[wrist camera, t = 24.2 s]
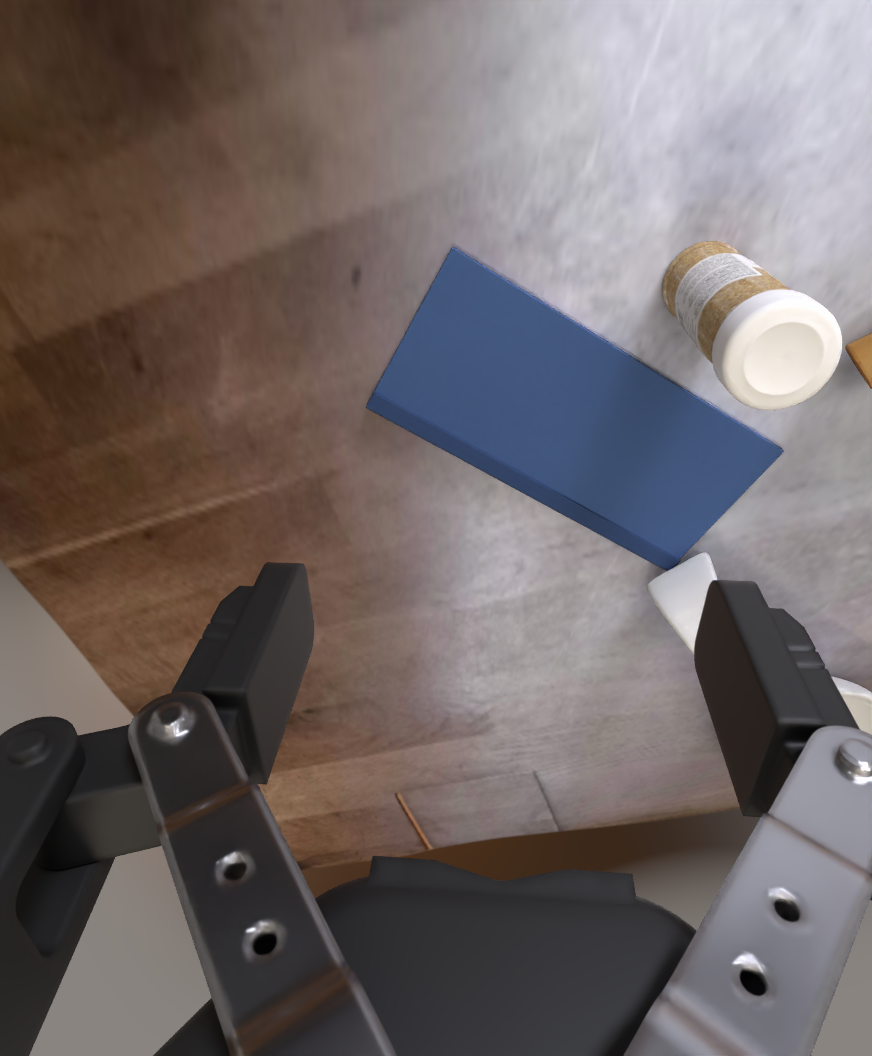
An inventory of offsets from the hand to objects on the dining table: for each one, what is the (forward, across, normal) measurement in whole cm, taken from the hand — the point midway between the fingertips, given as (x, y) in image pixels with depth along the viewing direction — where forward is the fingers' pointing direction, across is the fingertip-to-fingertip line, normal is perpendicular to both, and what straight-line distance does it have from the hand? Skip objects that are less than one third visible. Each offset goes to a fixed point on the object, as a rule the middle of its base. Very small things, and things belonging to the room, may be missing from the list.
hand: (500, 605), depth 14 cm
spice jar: (+30, -11, +1) cm, 32 cm away
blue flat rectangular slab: (+30, -5, +10) cm, 32 cm away
